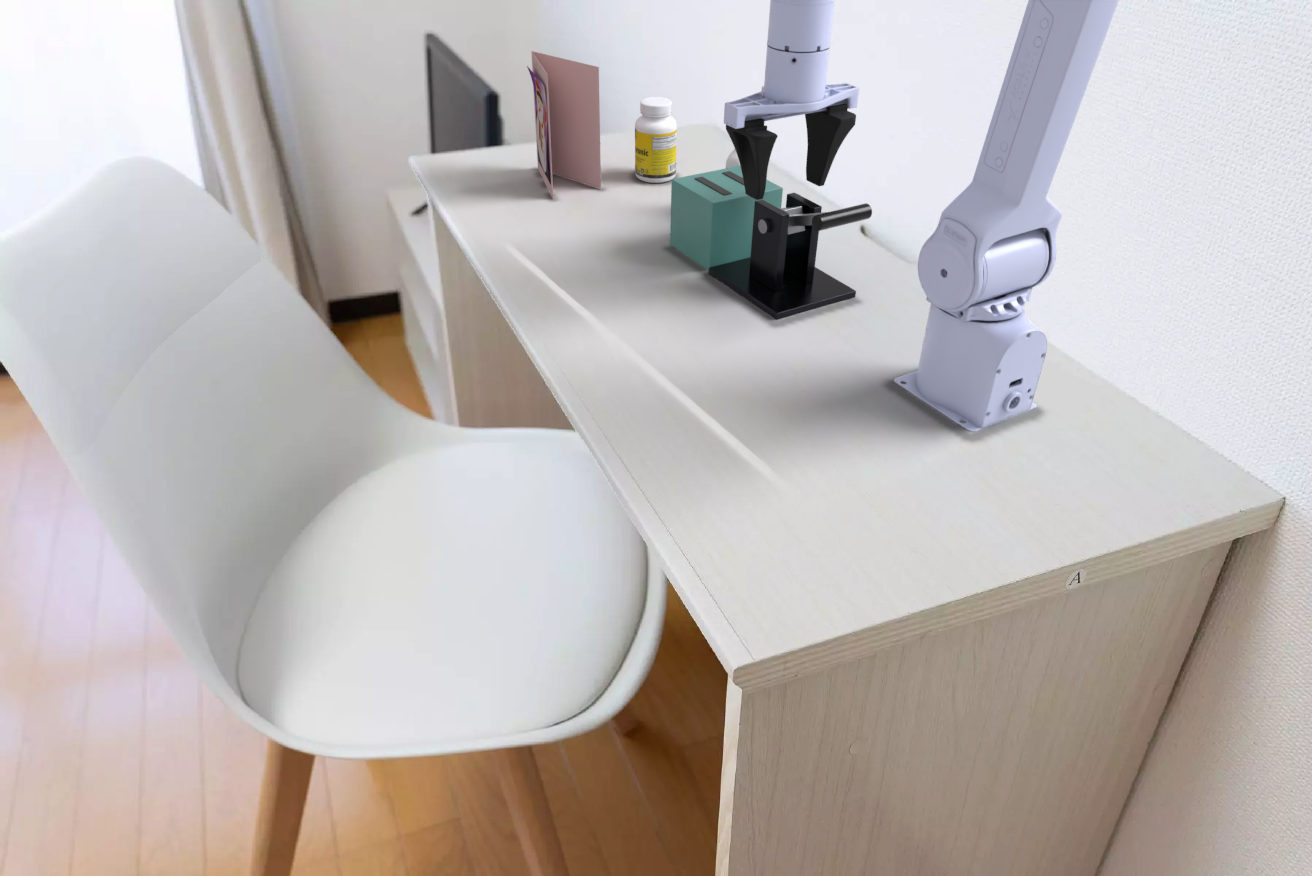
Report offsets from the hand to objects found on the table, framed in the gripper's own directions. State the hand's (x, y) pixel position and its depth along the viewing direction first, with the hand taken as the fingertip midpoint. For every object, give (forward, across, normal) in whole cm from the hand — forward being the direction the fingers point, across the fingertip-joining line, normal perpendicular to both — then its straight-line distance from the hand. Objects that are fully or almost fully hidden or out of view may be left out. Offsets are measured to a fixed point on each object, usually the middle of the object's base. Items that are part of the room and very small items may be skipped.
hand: (785, 189), depth 96 cm
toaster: (+10, +1, -9) cm, 13 cm away
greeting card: (+10, +6, -37) cm, 39 cm away
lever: (+2, +1, +6) cm, 6 cm away
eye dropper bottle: (+10, -7, -16) cm, 21 cm away
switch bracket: (+10, +1, +2) cm, 10 cm away
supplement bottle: (+10, -5, -33) cm, 35 cm away
